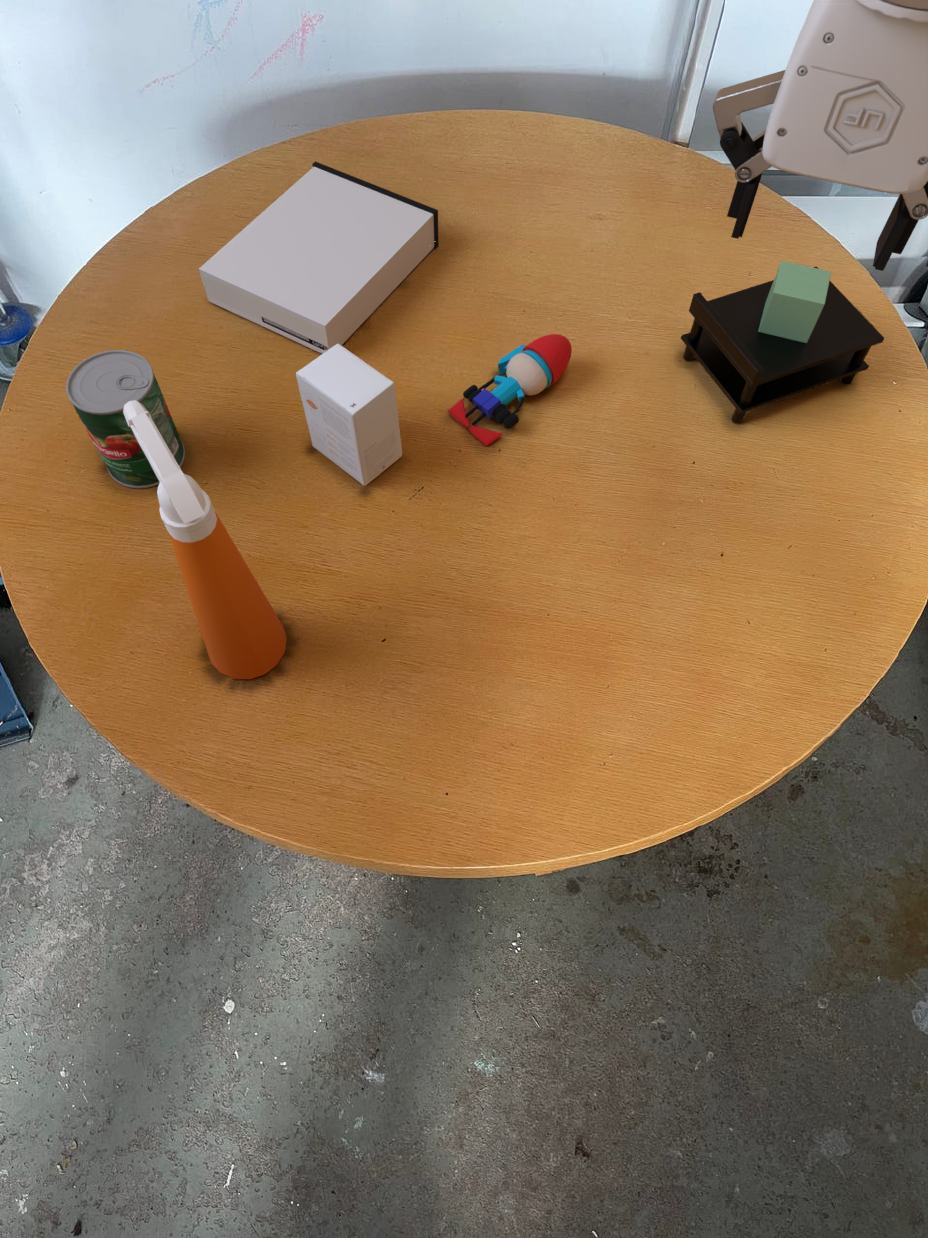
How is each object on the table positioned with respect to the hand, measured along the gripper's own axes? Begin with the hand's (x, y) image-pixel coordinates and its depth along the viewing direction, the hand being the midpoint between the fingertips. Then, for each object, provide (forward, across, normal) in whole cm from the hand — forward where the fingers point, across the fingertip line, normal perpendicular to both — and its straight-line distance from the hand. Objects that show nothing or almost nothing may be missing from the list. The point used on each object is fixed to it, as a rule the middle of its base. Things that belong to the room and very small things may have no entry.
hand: (808, 241), depth 60 cm
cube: (+24, +3, +21) cm, 32 cm away
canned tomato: (+31, -55, -13) cm, 64 cm away
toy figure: (+31, -22, +8) cm, 38 cm away
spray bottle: (+31, -37, -28) cm, 56 cm away
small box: (+31, -35, -5) cm, 47 cm away
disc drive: (+31, -49, +19) cm, 61 cm away
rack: (+30, +3, +21) cm, 37 cm away
